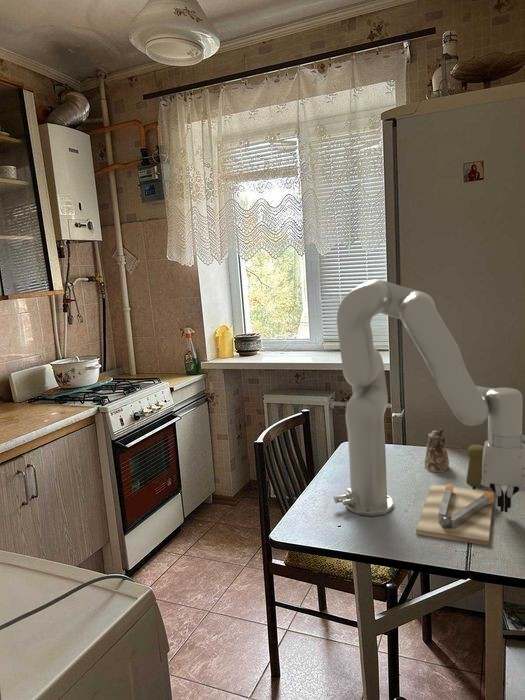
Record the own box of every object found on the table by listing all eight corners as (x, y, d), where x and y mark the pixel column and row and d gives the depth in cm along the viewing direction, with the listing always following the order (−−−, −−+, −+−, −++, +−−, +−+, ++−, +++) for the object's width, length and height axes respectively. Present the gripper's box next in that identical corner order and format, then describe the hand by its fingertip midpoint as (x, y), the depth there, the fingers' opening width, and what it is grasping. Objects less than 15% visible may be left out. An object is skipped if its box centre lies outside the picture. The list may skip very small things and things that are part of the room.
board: (488, 545, 119) (488, 540, 119) (416, 534, 126) (415, 529, 126) (493, 495, 142) (493, 491, 142) (431, 488, 149) (431, 484, 149)
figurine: (419, 465, 165) (419, 429, 163) (438, 461, 167) (438, 425, 165) (434, 473, 158) (433, 435, 156) (453, 469, 160) (453, 431, 158)
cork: (485, 489, 146) (485, 451, 144) (463, 484, 150) (463, 448, 148) (491, 480, 151) (491, 444, 149) (469, 476, 154) (469, 441, 152)
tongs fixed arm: (445, 522, 127) (445, 514, 127) (437, 521, 128) (437, 513, 128) (453, 491, 143) (453, 484, 142) (446, 490, 144) (446, 483, 143)
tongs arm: (451, 530, 124) (451, 522, 123) (439, 525, 126) (438, 517, 126) (494, 501, 136) (494, 493, 136) (482, 497, 138) (482, 489, 138)
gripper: (539, 436, 127) (537, 507, 130) (472, 431, 133) (472, 499, 137) (540, 447, 120) (538, 521, 124) (470, 441, 127) (470, 512, 130)
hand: (504, 509), depth 130 cm, fingers closed
